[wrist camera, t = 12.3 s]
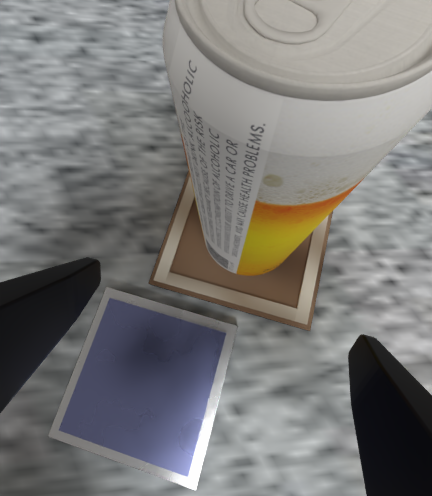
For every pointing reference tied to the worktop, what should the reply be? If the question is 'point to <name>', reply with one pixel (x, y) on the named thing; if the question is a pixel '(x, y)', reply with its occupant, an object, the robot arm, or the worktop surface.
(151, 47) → the worktop surface
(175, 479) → the ink pad
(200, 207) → the beer can
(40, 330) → the robot arm
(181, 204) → the marked square
